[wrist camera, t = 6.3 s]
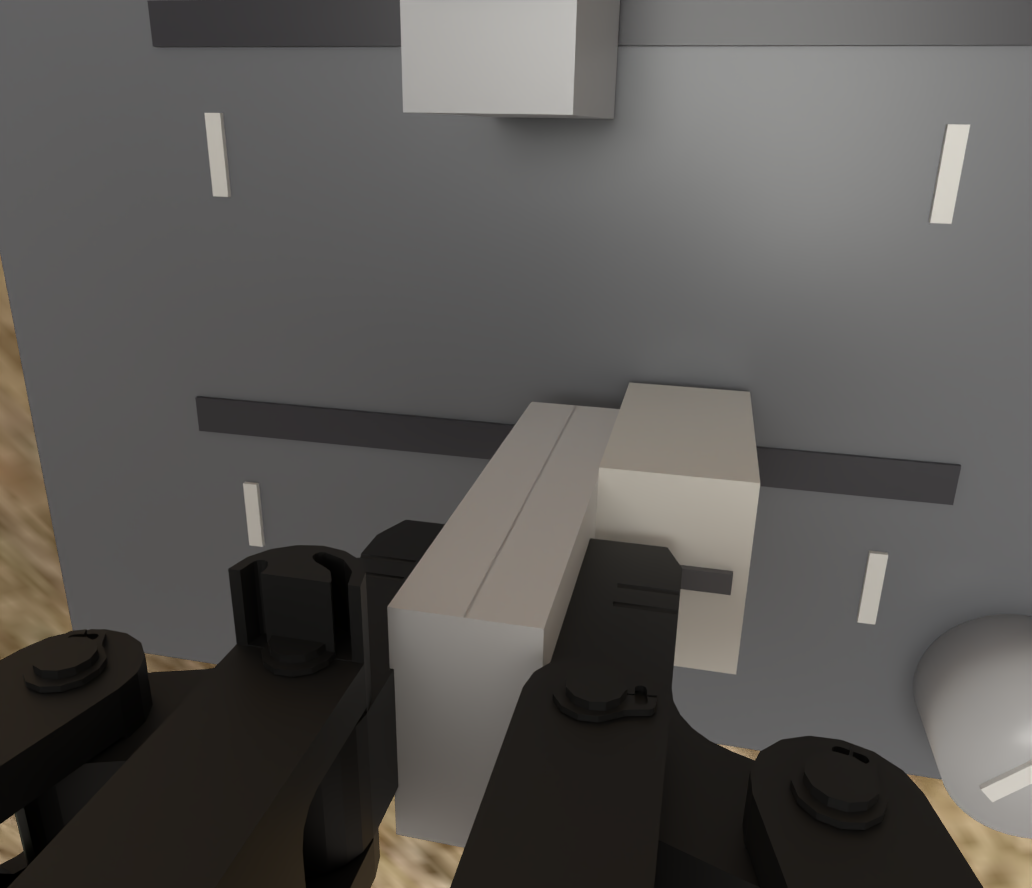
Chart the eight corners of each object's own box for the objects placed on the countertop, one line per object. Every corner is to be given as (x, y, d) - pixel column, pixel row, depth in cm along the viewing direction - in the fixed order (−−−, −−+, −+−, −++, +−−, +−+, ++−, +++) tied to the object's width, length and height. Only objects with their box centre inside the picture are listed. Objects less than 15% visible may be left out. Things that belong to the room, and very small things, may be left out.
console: (141, 588, 22) (6, 696, 18) (9, -257, 16) (-247, -395, 12) (1075, 721, 18) (1184, 904, 14) (1403, -374, 12) (1798, -666, 7)
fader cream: (619, 530, 16) (587, 657, 12) (629, 382, 15) (597, 470, 11) (732, 543, 15) (736, 679, 11) (750, 391, 14) (760, 485, 10)
